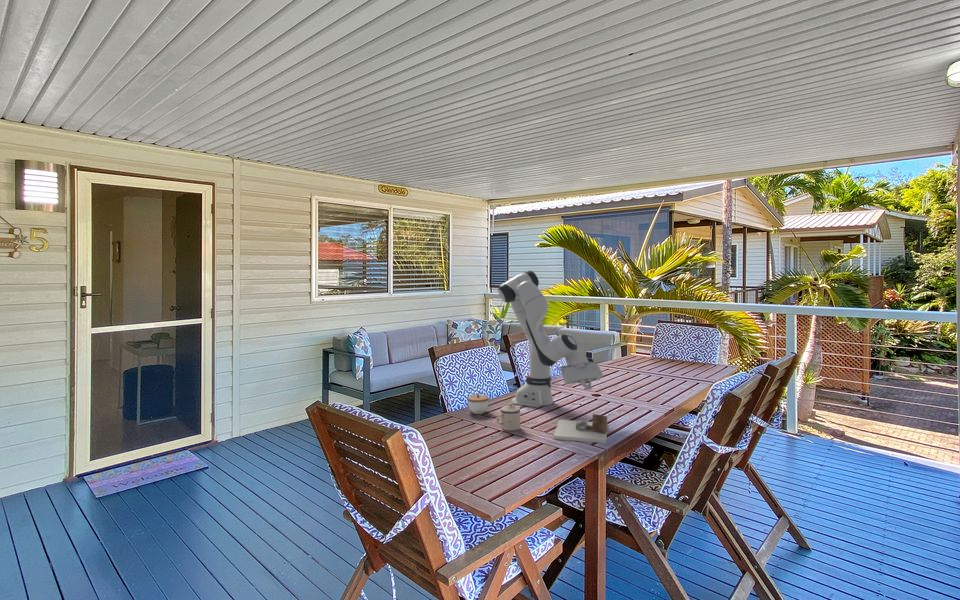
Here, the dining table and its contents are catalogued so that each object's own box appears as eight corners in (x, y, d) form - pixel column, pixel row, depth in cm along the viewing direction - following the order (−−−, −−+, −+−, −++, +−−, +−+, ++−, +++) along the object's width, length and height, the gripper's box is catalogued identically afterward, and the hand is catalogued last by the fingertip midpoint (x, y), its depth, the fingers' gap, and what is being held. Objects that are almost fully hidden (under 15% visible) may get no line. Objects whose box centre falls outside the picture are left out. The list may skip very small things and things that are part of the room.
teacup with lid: (513, 423, 239) (513, 399, 238) (524, 428, 231) (524, 403, 230) (491, 428, 233) (491, 403, 232) (502, 433, 225) (502, 408, 224)
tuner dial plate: (553, 439, 217) (553, 435, 217) (559, 422, 238) (559, 419, 238) (606, 443, 211) (606, 439, 211) (607, 426, 232) (607, 422, 232)
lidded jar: (480, 407, 265) (480, 390, 264) (493, 412, 256) (492, 394, 255) (463, 411, 258) (463, 393, 257) (476, 416, 250) (475, 398, 249)
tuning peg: (573, 428, 224) (573, 413, 223) (578, 425, 228) (578, 410, 228) (604, 434, 216) (604, 418, 216) (608, 430, 220) (608, 415, 220)
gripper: (561, 362, 238) (573, 387, 229) (597, 358, 246) (609, 383, 238) (556, 370, 242) (567, 395, 234) (591, 366, 250) (603, 390, 242)
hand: (589, 388), depth 236 cm, fingers closed
